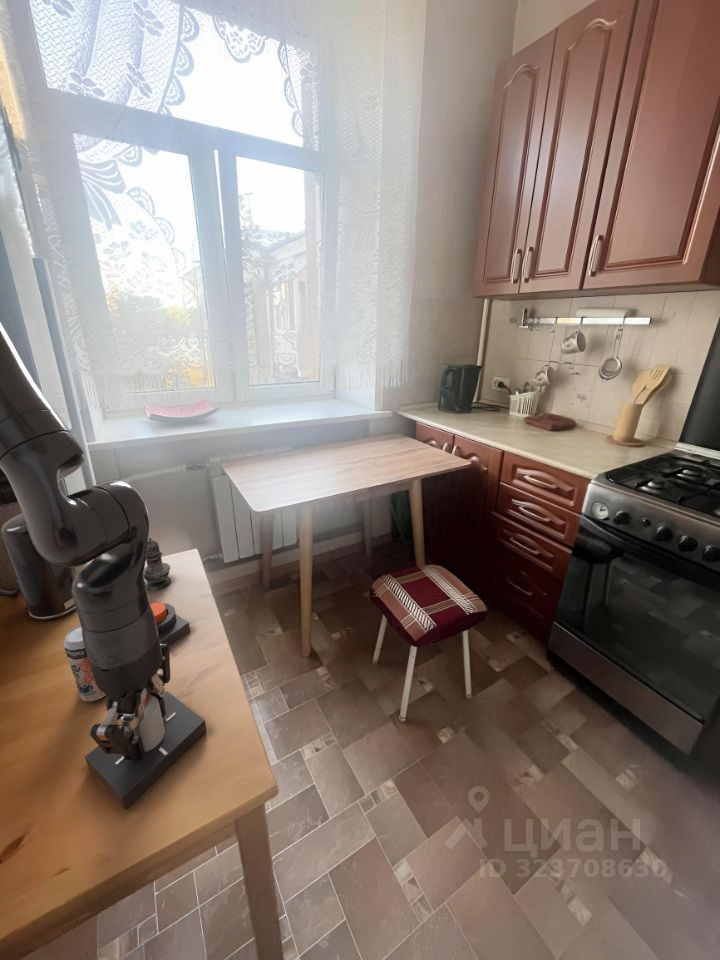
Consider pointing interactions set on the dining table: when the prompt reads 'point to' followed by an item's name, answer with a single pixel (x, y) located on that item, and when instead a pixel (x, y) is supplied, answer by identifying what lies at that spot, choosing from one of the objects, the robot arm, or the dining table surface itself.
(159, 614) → the button
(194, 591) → the dining table surface
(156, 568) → the dark grey stone stupa
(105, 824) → the dining table surface
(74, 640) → the beer can
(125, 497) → the robot arm
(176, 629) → the button block
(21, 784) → the dining table surface
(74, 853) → the dining table surface
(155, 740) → the timer knob
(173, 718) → the timer panel
